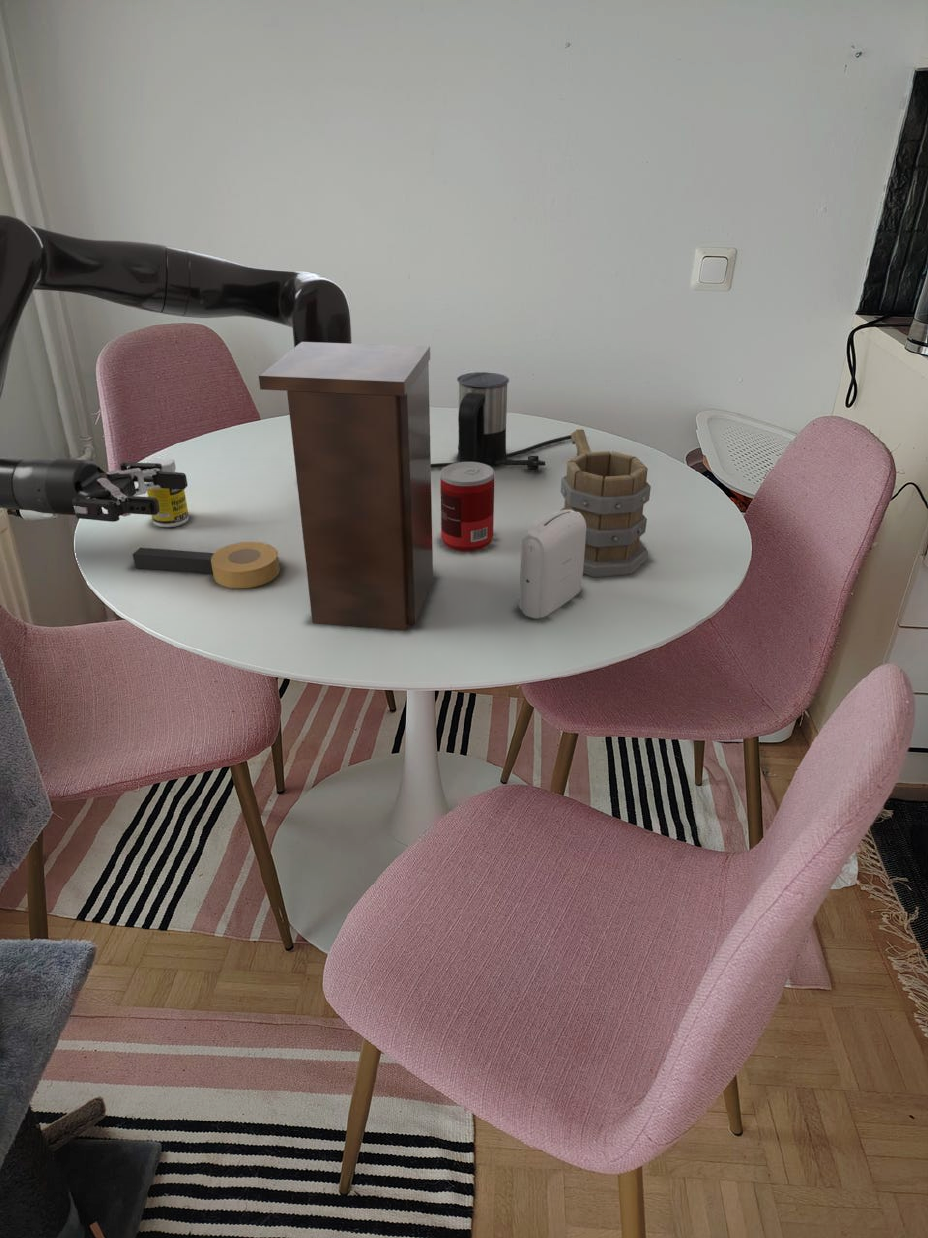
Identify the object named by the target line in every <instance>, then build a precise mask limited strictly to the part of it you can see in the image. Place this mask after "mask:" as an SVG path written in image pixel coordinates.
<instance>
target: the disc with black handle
mask: <svg viewBox="0 0 928 1238" xmlns="http://www.w3.org/2000/svg"><path fill="white" fill-rule="evenodd" d="M132 559H133V563H134V564H133V565H134V568H135V569H141V570H143V569H144V570H156V571H167V572H169V571H170V572H184V573H194V574H209V575H212V576H213V579H214V581H215V582H216V583H217V584H218V585H220V586H223V587H225V588H228V589H229V588H230V589H252V588H257V587H260V586H262V585H266V584H268V583H270V582H271V581H273V580H275V579H276V578H277V577H278V576H279V573H280V571H281V569H280V568H281V567H280V559H279V553H278V550H277V549H276V547H274V546H273V545H271V544H268V543H265V542H259V541H243V542H241V541H240V542H236V543H232V544H229V545H226V546H223V547H222V548H219V549H218V550H217V551H215V552H206V551H191V550H179V549H167V548H166V549H165V548H153V547H152V548H151V547H138V548H137V550H135V551H134V552H133V553H132Z"/></svg>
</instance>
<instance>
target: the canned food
mask: <svg viewBox="0 0 928 1238" xmlns="http://www.w3.org/2000/svg"><path fill="white" fill-rule="evenodd" d="M457 462H458V461H457ZM453 463H454V464H450V465H448V466H446V467H442V469H441V470H440V474H439V475H440V477H439V482H440V484H439V485H440V487H439V488H440V491H439V493H440V533H441V534H440V536H441V537H440V538H441V540H442V543H443V545H444V546H445V547H447V548H448V549H450V550H453V551H457V552H465V553H466V552H476V551H480V550H483V549H485V548H487V547H488V546H490V544H491V543H492V540H493V538H494V524H495V523H494V519H495V517H494V516H495V515H494V514H495V483H496V482H495V477H496V476H495V475H496V474H495V470H494V467H490V466H488V465H486V464H483V463H478V462H458V463H455V462H453Z"/></svg>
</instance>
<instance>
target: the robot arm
mask: <svg viewBox="0 0 928 1238" xmlns="http://www.w3.org/2000/svg"><path fill="white" fill-rule="evenodd" d="M33 291H52V292H63V293H65V292H66V293H74V294H80V295H85V296H91V297H94V298H97V299H101V300H105V301H108V302H111V303H115V304H118V305H120V306H121V305H122V306H126V307H129V308H133V309H138V310H141V311H145V312H146V311H147V312H151V313H155V314H163V315H169V316H175V317H182V318H190V319H191V318H192V319H218V318H220V319H221V318H232V317H245V318H253V319H259V320H263V321H267V322H272V323H275V324H278V325H279V324H280V325H282V326H286V327H289V328H292V338H293V348H294V347H296V346H297V345H298V344H300V343H301V342H320V343H346V344H353V342H352V341H353V340H352V319H351V309H350V305H349V300H348V297H347V295H346V293H345V292H344V290H343V289H342V287H340V286H339V284H337V283H336V282H335V281H333V280H331V279H329V278H328V277H325V276H323V275H322V274H319V273H316V272H312V271H299V270H281V269H271V268H260V267H254V266H248V265H245V264H241V263H238V262H234V261H232V260H228V259H225V258H221V257H217V256H214V255H210V254H206V253H201V252H197V251H193V250H189V249H184V248H179V247H175V246H168V245H163V244H157V243H150V242H149V243H148V242H141V241H127V240H111V239H110V240H109V239H108V240H107V239H106V240H105V239H104V240H103V239H89V238H83V237H82V238H81V237H77V236H72V235H68V234H63V233H61V232H56V231H53V230H48V229H45V228H41V227H38V226H34V225H31V224H28V223H27V222H25V221H24V220H22V219H20V218H19V217H15V216H13V215H10V214H4V213H3V214H2V213H0V402H1V401H2V396H3V392H4V387H5V382H6V378H7V373H8V367H9V361H10V357H11V352H12V347H13V344H14V339H15V336H16V333H17V329H18V326H19V324H20V320H21V319H22V316H23V314H24V310H25V308H26V306H27V304H28V302H29V299H31V296H32V294H33ZM568 440H571V434H570V435H565V436H560V437H556V438H552V439H549V440H546V441H542V442H540V443H537V444H534V445H532V446H528V447H526V448H522V449H519V450H515V451H513V452H509V453H506V457H507V459H508V458H512V457H515V456H516V457H517V456H519V455H523V454H526V453H528V452H531V451H534V450H536V449H539V448H542V447H545V446H548V445H552V444H556V443H559V442H564V441H568ZM454 463H458V461H456V462H438V463H437V462H436V463H431V469H435V468H444V467H446V466H448V465H450V464H454ZM119 469H120V470H119ZM119 469H113V470H108V471H106V472H105V471H104V470H103V469H102V468H101V467H100V466H99V465H98V464H97V463H96V462H95V461H92V460H90V459H78V458H77V459H75V458H59V457H57V458H56V457H33V458H24V457H8V456H7V457H5V456H3V457H0V509H6V510H17V511H18V510H19V511H31V512H36V513H41V514H50V515H51V514H53V515H66V516H67V515H68V516H75V517H76V519H82V520H90V521H102V522H111V523H115V522H118V521H120V516H121V517H128V516H131V515H144V516H145V515H147V516H152V515H157V514H158V513H159V512H160V508H159V503H158V500H157V499H156V498H154V497H148V496H141V495H145V494H147V490H150V489H155V488H160V487H161V488H167V489H184V490H185V489H186V488H187V487H188V480H187V475H186V474H185V473H184V472H178V471H176V472H163V471H162V465H161V464H159V463H147V462H131V461H130V462H129V461H128V462H127V461H125V462H120V463H119ZM148 469H149V470H148ZM151 475H152V476H151ZM145 482H153V483H147V484H146V483H145ZM136 483H137V484H138V485H137V487H136ZM103 509H104V510H106V511H107V513H106V512H104V511H103Z"/></svg>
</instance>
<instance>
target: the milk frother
mask: <svg viewBox="0 0 928 1238" xmlns="http://www.w3.org/2000/svg"><path fill="white" fill-rule="evenodd" d="M456 381H457V383H458V414H457V415H458V416H457V418H458V422H457V423H458V443H457V444H458V445H457V455H456V461H457V462H478V463H483V464H486V465H488V466H490V467H492V468H495V467H500V466H503V465H504V466H526V467H527V470H528V471H539V467H544V466H546V463H547V462H546V461H544V460H541V459H540V458H539V456H538V455H528V456H527V459H508V458H507V457H506V454H507V412H508V408H507V407H508V384H509V382H510V378H509V377H508V376H506V375H504V374H500V373H495V372H485V371H484V372H483V371H481V372H480V371H477V372H469V373H465V374H461V375H459V376H458V377H457V378H456Z"/></svg>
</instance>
